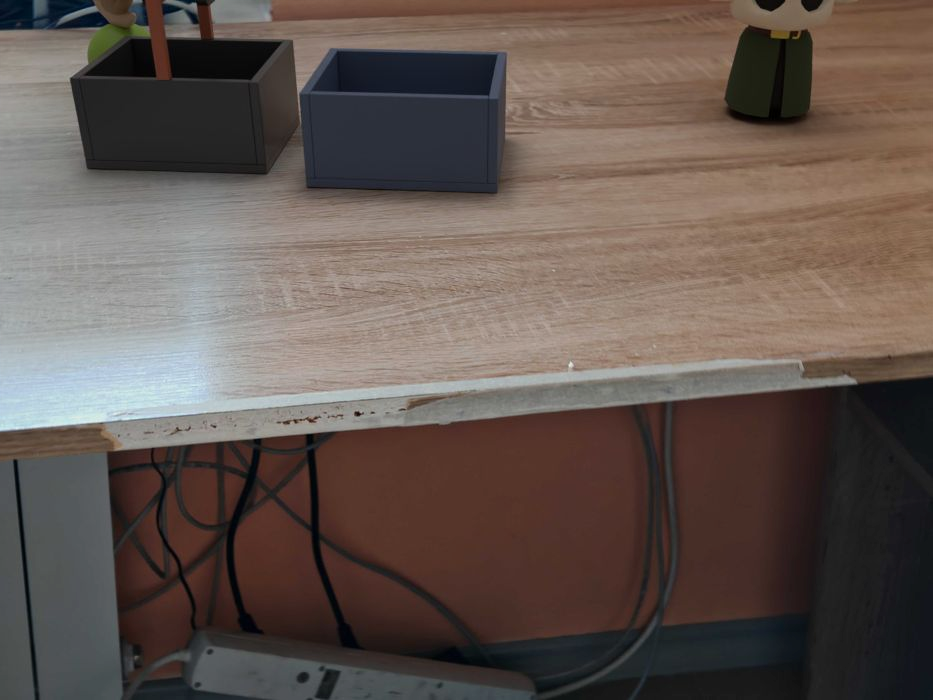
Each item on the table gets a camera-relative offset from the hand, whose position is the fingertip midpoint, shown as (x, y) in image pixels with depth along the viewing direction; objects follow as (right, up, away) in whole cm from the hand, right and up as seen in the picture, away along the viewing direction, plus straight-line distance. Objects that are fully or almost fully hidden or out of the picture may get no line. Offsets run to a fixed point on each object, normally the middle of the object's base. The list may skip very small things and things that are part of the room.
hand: (179, 1), depth 70 cm
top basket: (0, -8, +5) cm, 10 cm away
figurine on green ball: (-8, -2, +15) cm, 17 cm away
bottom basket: (+15, -10, +2) cm, 18 cm away
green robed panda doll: (+41, -5, +11) cm, 42 cm away
